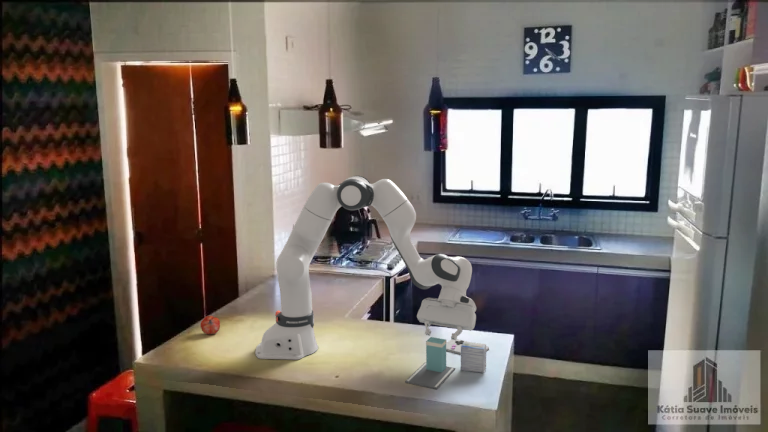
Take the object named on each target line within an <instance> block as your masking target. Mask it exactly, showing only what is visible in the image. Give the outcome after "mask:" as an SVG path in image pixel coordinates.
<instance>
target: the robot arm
mask: <svg viewBox="0 0 768 432" xmlns="http://www.w3.org/2000/svg"><path fill="white" fill-rule="evenodd" d="M370 206H372V207H373V208H374V209H375V210H376V211H377V212H378V215H380V217H381V218H382V220H383V221H384V223H385V224H386V227H387V229H388V232H389V236H390V240H391V242H392V243H393V245H394V247H395V249H396V251H397V252H398V255H399V256H400V258H401V259H402V261H403V263H404V265H405V267H406V269H407V271H408V276H409V278H410V280H411V282H412V283H413V285H414V286H415V287H417V288H419V289H421V290H428V289H430V288H432V287H434V286H436V285H440V286H441V290H440V292H439V296H438V298H436V297H429V296H428V297H426V298H424V299H423V300H422V301H421V304H420V307H419V309H418V311H417V314H416V318H417V321H419V323H421V324H423V323H424V326H425V331H424V335H425V336H428V337H429V336H431V334H432V330H431V329H430V327H431V325H435V326H441V327H447V328H452V329H456V331H455V332H452V333H451V336H450V338H451V339H452V340H457V339H458V336H460V335H461V334H462V332H463V331H470V332H471V331H473V330H474V329H475V326H476V321H477V314H476V313H475V312H476V311H477V306H476V303H475V301H474V300H473V299H472V298H470V297H468V296H467V290H468V288H469V286H470V283H471V279H472V276H473V275H472V273H473V267H472V263H471V262H470V260H468V259H467V258H465V257H464V256H463V257H462V256H458V255H457V256H448V255H446V254H445V253H438V254H435V255H432V256H429V257H427V258H425V259H424V258H422V257H421V256H420V254H419V252H418V250H417V248H416V247H415V245H414V243H413V241H412V239H411V233H412V232H411V231H412V229H413V228H414V226H415V224H416V221H417V212H416V209H415V208H414V206H413V204H412V203H411V202H410V200H409V199H408V197H407V196H406V194H405V193H404V192H403V191H402V190H401V189H400V188H399V187H398V186H397V184H396V183H394V182H393V181H392V180H391V179H388V178H382V179H379V180H377V181H376V182H374V183H371V182H370V181H369V180H368V179H367V178H366V177H365V176H362V175H353V176H349V177H347V178H345V180H343V181H342V182H340V183H339V184H338V185H335V184H332V183H331V182H320V183H319V184H317V185H316V186H315V188H314V189H313V190H312V192H311V193H310V195H309V196H308V198H307V200H306V201H305V204H304V205H303V207H302V210H301V211H300V213H299V215H298V218H297V219H296V222H295V223H294V225H293V228H292V230H291V232H290V234H289V236H288V238H287V241H286V242H285V245H284V246H283V248H282V251H281V252H280V254H279V255H278V257H277V259H276V264H275V267H276V268H275V269H276V274H277V275H276V276H277V282H278V287H279V293H280V294H279V295H280V310H276V311H275V323H274V324H273V325H272V326H270V327H269V328H268V329H266V330H265V331H264V333H263V335H262V338H261V340H260V341H261V342H260V343H259V344H257V346H256V347H255V354H254V355H255V357H257V359H259V360H260V359H261V360H265V359H266V360H301V359H302V358H304V357H307V356H308V355H311V354H313V353H316V352H317V351H318V349H319V345H318V343H317V340H316V335H315V329H314V326H315V315H314V310H313V303H312V302H313V301H312V300H313V299H312V296H313V295H312V288H311V280H310V271H309V270H310V265H311V263H312V260H313V258H314V256H315V255H316V252H317V250H318V249H319V246H320V245H321V243H322V241H323V239H324V237H325V235H326V233H327V231H328V230H329V227H330V225H331V223H332V222H333V220H334V217H335V215H336V214H337V211H338V210H339V209H340V208H341V207H343V208H344V209H345V210H347V211H357V210H360V209H363V208H367V207H370ZM451 339H450V340H451Z"/></svg>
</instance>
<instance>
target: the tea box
mask: <svg viewBox="0 0 768 432" xmlns="http://www.w3.org/2000/svg"><path fill="white" fill-rule="evenodd" d="M446 343H447V339H446V338H440V337H433V336H431V337H429V338H428V339H427V340H426V341H425V346H426V348H425V349H426V350H425V351H426V353H425V354H426V355H425V356H426V359H425V360H426V361H425V362H426V369H427V370H432V371H437V372H443V371H444V370H445V369H446V366H447V351H446Z"/></svg>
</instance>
